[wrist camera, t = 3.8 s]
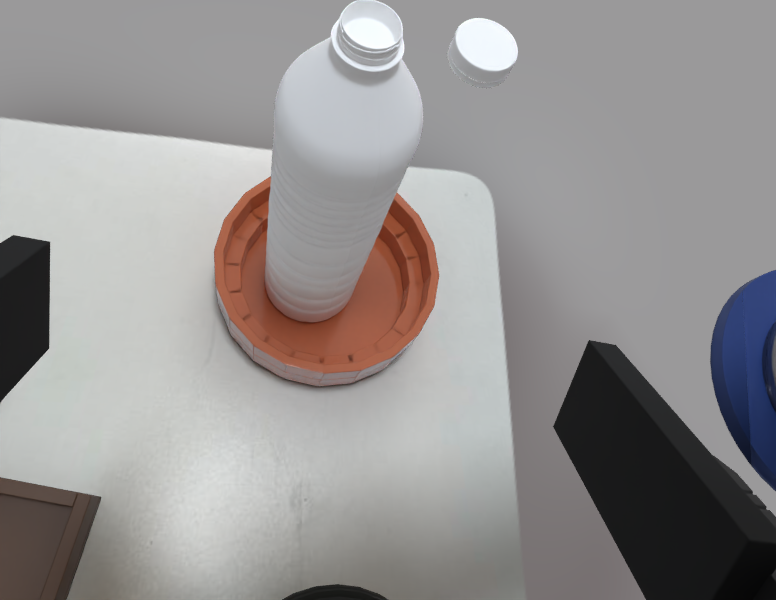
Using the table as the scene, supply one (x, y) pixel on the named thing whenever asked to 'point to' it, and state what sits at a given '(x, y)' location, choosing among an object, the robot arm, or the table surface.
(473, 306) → the table surface
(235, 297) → the bowl
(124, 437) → the table surface
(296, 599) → the coffee cup
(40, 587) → the tray
